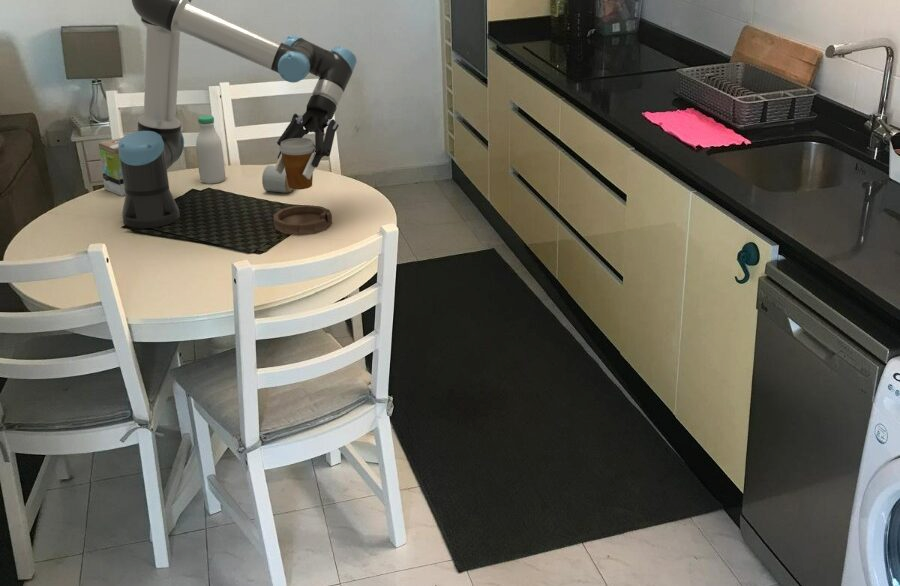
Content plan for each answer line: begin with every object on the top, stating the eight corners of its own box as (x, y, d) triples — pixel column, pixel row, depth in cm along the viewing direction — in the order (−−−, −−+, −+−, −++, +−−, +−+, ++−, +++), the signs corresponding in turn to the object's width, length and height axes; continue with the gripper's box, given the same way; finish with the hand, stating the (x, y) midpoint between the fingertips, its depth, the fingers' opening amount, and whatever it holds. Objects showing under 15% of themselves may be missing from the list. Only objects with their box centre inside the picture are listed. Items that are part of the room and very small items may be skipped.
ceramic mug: (288, 196, 284) (286, 171, 281) (262, 194, 286) (260, 169, 282) (302, 185, 293) (300, 161, 290) (277, 183, 295) (275, 159, 292)
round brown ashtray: (277, 237, 254) (276, 227, 253) (271, 217, 267) (271, 208, 266) (335, 231, 258) (335, 221, 256) (327, 212, 271) (326, 203, 270)
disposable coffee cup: (276, 190, 255) (272, 146, 250) (291, 178, 263) (288, 136, 258) (309, 193, 253) (306, 148, 247) (323, 181, 261) (321, 138, 256)
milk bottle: (230, 180, 298) (224, 116, 289) (209, 186, 293) (202, 121, 284) (216, 174, 303) (209, 112, 294) (195, 180, 298) (187, 117, 289)
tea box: (122, 197, 284) (114, 148, 278) (104, 189, 290) (96, 142, 284) (166, 184, 294) (160, 137, 288) (148, 177, 300) (141, 131, 294)
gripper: (363, 113, 258) (331, 187, 252) (299, 103, 267) (267, 174, 262) (350, 97, 251) (317, 173, 245) (285, 88, 261) (252, 161, 255)
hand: (291, 174), depth 254 cm, fingers closed on disposable coffee cup, 9 cm apart
